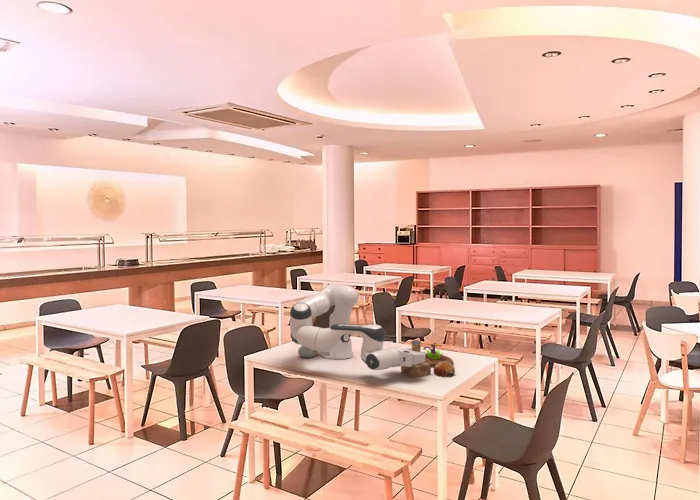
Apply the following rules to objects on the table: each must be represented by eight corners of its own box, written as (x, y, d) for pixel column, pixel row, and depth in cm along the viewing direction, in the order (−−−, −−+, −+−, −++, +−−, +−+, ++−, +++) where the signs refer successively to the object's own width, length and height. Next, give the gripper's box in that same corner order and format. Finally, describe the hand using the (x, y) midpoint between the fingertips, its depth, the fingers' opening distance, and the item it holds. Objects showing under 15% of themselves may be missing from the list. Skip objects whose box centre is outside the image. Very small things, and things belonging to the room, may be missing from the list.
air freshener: (310, 359, 274) (310, 341, 274) (296, 358, 277) (296, 339, 276) (318, 355, 284) (318, 337, 284) (304, 353, 287) (304, 335, 287)
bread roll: (453, 379, 251) (451, 363, 254) (457, 376, 242) (456, 359, 245) (432, 379, 251) (431, 363, 254) (436, 376, 242) (435, 359, 245)
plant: (423, 369, 257) (423, 347, 257) (408, 360, 276) (408, 339, 275) (459, 367, 262) (460, 345, 262) (443, 357, 281) (443, 337, 281)
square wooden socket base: (401, 373, 248) (401, 363, 248) (415, 370, 255) (415, 360, 255) (416, 378, 241) (416, 367, 241) (430, 374, 247) (430, 364, 247)
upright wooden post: (411, 373, 248) (411, 340, 247) (415, 372, 250) (415, 340, 249) (415, 375, 246) (416, 341, 245) (420, 374, 248) (420, 341, 247)
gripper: (381, 358, 247) (401, 354, 256) (412, 367, 232) (433, 362, 240) (381, 345, 247) (401, 341, 256) (412, 353, 231) (433, 349, 240)
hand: (417, 352), depth 248 cm, fingers open, 8 cm apart
